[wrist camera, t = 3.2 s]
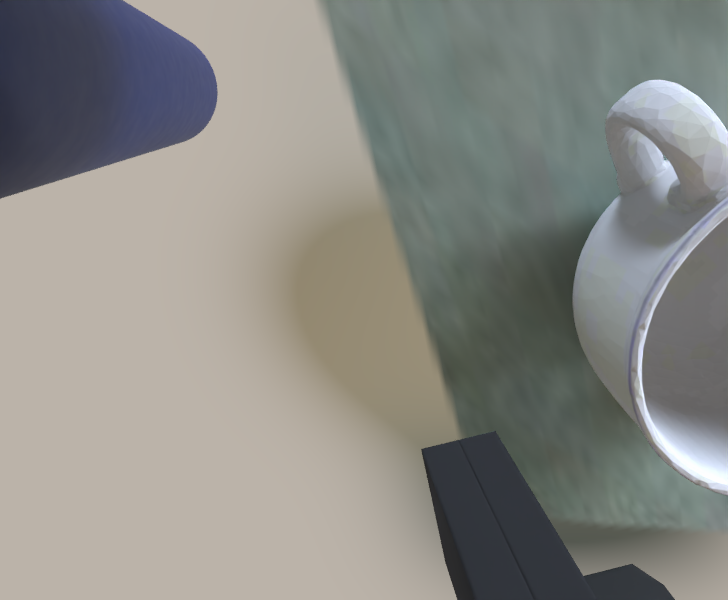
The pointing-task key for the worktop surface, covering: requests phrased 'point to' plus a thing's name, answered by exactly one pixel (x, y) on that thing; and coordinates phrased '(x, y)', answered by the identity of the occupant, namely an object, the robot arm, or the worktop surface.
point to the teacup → (663, 278)
